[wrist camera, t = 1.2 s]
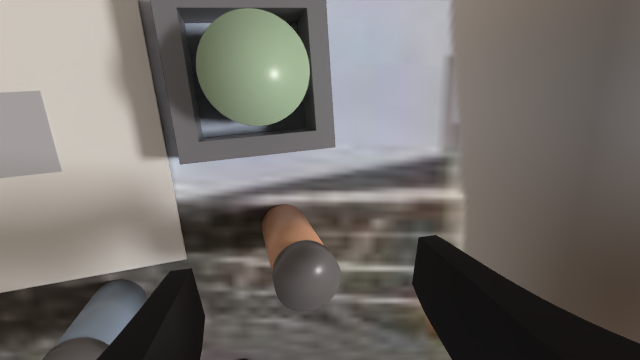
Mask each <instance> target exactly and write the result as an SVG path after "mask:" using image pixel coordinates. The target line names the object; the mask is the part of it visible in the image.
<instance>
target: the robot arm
mask: <svg viewBox="0 0 640 360" xmlns="http://www.w3.org/2000/svg"><path fill="white" fill-rule="evenodd" d="M412 285H413V287H414V289H415V292H416V294H417V297H418V299H419V301H420V303H421V306H422V308H423V310H424V312H425V314H426V316H427V318H428V319H429V321H430V323H431V325H432V326H433V328H434V330H435V331H436V333H437V335H438V337H439V338H440V340H441V342H442V343H443V345H444V347H445V348H446V350H447V352H448V353H449V355H450V357H451V359H452V360H640V344H639V343H637V342H634V341H632V340H630V339H627V338H625V337H623V336H620V335H618V334H615V333H613V332H611V331H608V330H606V329H604V328H602V327H599V326H597V325H595V324H593V323H591V322H588V321H586V320H584V319H582V318H580V317H578V316H576V315H574V314H572V313H570V312H568V311H566V310H564V309H561V308H559V307H557V306H555V305H553V304H552V303H549V302H548V301H546V300H544V299H542V298H540V297H538V296H536V295H535V294H533V293H531V292H529V291H527V290H526V289H524V288H522V287H520V286H518V285H517V284H515V283H513V282H512V281H510V280H508V279H506V278H505V277H503V276H501V275H500V274H498V273H496V272H495V271H493V270H491V269H489V268H488V267H487V266H485V265H483V264H482V263H480V262H479V261H477V260H475V259H474V258H472V257H471V256H469V255H467V254H466V253H464V252H463V251H461V250H460V249H458V248H456V247H455V246H453V245H452V244H450V243H448V242H447V241H445V240H444V239H442V238H440V237H438V236H437V235H433V236H426V237H419V239H418V246H417V253H416V260H415V267H414V274H413V281H412ZM204 323H205V314H204V311H203V307H202V303H201V300H200V296H199V293H198V289H197V285H196V282H195V278H194V275H193V271H192V268H190V269H183V270H176V271H170V272H169V273H168V274H167V276H166V277H165V278H164V279H163V281H162V282H161V283H160V284H159V286H158V287H157V288H156V289H155V291H154V292H153V293H152V294H151V296H150V297H149V298H148V299H147V301H146V302H145V303H144V304H143V306H142V307H141V308H140V309H139V311H138V312H137V313H136V314H135V315H134V317H133V318H132V319H131V320H130V321H129V323H128V324H127V325H126V326H125V327H124V329H123V330H122V331H121V332H120V333H119V335H118V336H117V337H116V338H115V339H114V340H113V342H112V343H111V344H110V345H109V346H108V347H107V348H106V349H105V350H104V352H103V353H102V354H101V355H100V356H99V357H98V358H97V359H96V360H200V356H201V351H202V343H203V334H204Z"/></svg>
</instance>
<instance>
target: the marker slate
mask: <svg viewBox="0 0 640 360" xmlns="http://www.w3.org/2000/svg"><path fill="white" fill-rule="evenodd" d="M146 301H147V297H146V294H145V292H144V290H143V289H142V288H141V287H140V286H139V285H138V284H136V283H134V282H132V281H128V280H114V281H110V282H108V283H106V284H104V285H102V286H101V287H100V288H99V289H98V290H97V291H96V292H95V294H94V295H93V296H92V298H91V299H90V300H89V302H88V303H87V304H86V306H85V307H84V308H83V309H82V311H81V312H80V313H79V315H78V316H77V317H76V319H75V320H74V321H73V323H72V324H71V325H70V326H69V328H68V329H67V330H66V332H65V333H64V334H63V336H62V337H61V338H60V340H59V341H58V342H57V343H56V345H55V346H54V347H53V348H52V349H51V350H50V351H49V352H48V353H47V354H46V356H45V357H44V358H43V360H96V359H97V358H98V357H99V356H100V355H101V354H102V353H103V352H104V350H105V349H106V348H107V347H108V346H109V345H110V344H111V343H112V342H113V340H114V339H115V338H116V337H117V336H118V335H119V333H120V332H121V331H122V330H123V329H124V327H125V326H126V325H127V324H128V323H129V321H130V320H131V319H132V318H133V317H134V315H135V314H136V313H137V312H138V311H139V309H140V308H141V307H142V306H143V304H144V303H145V302H146Z"/></svg>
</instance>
